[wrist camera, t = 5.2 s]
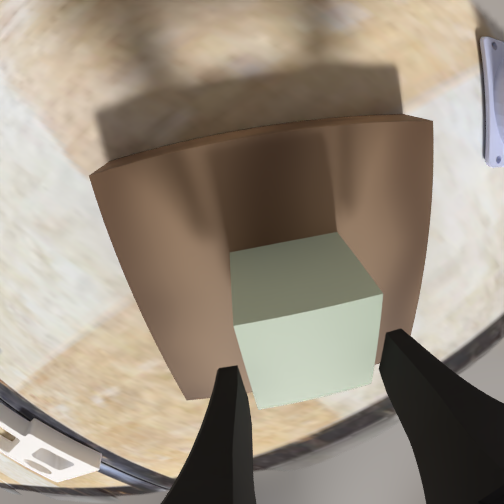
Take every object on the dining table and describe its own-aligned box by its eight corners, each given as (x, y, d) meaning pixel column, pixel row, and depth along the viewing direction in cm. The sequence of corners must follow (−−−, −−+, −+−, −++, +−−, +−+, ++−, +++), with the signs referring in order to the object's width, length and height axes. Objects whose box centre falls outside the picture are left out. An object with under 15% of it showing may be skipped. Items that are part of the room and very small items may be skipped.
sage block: (336, 231, 13) (383, 293, 9) (339, 314, 15) (371, 383, 11) (229, 252, 13) (233, 325, 9) (249, 333, 15) (258, 409, 11)
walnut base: (403, 114, 13) (432, 121, 10) (390, 330, 19) (405, 355, 17) (109, 161, 13) (89, 175, 10) (188, 370, 20) (186, 400, 17)
